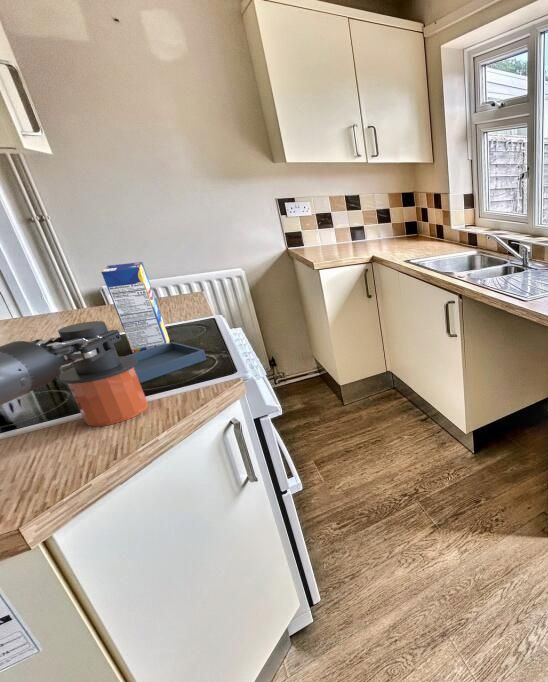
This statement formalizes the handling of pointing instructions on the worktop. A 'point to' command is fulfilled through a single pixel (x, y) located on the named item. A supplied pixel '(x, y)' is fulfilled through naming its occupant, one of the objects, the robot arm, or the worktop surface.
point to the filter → (98, 368)
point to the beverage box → (136, 305)
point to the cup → (110, 398)
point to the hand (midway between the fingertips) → (99, 335)
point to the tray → (165, 360)
